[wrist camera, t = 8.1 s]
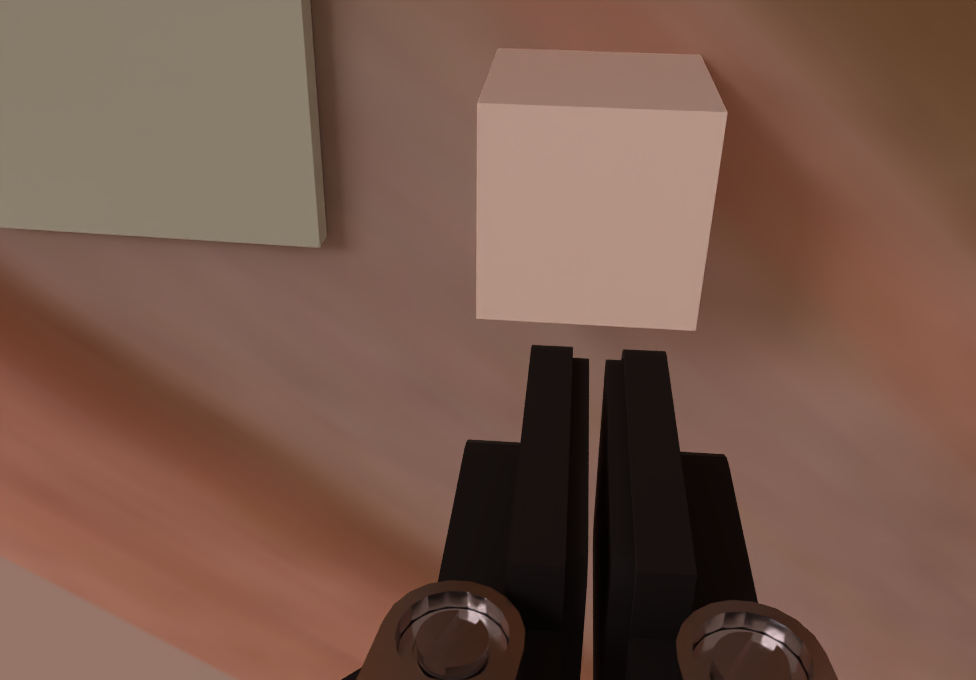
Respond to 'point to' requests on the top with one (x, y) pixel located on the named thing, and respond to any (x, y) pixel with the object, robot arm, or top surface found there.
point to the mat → (161, 120)
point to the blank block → (595, 187)
